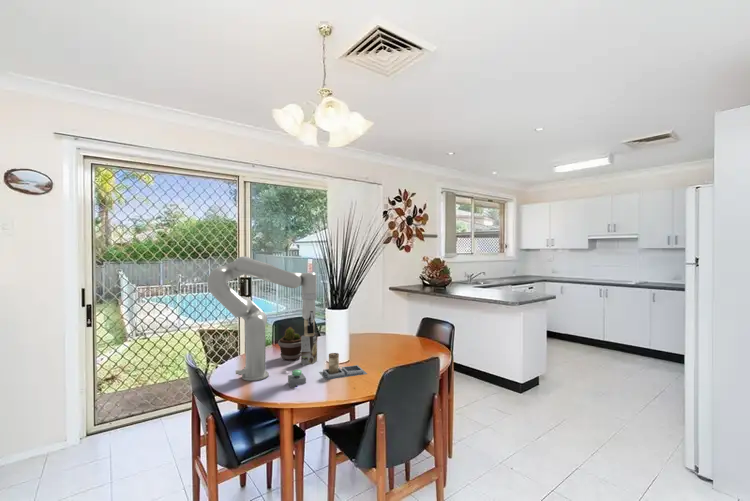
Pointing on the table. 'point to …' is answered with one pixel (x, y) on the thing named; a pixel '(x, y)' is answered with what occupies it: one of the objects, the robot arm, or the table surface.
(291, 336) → the flowerpot
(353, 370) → the tray
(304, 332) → the cylinder
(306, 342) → the coffee box
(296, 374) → the button
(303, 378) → the console
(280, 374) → the table surface
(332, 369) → the cylinder
